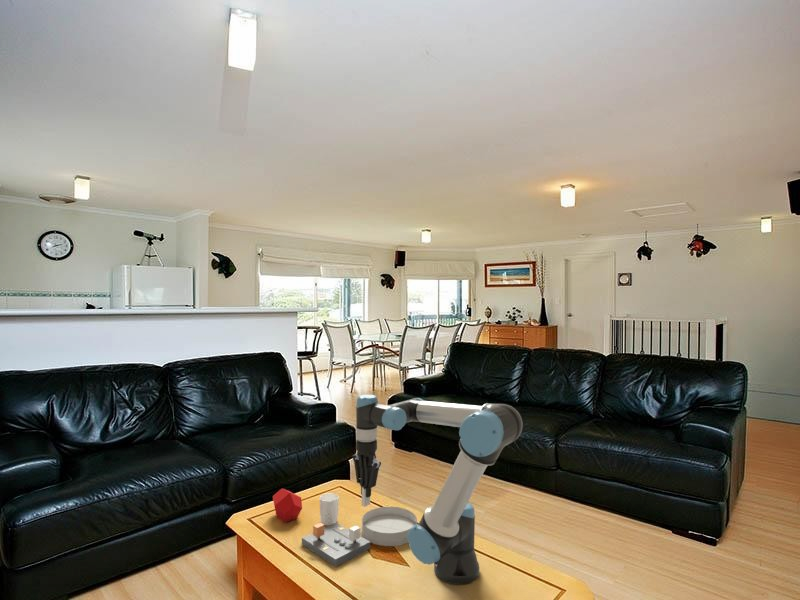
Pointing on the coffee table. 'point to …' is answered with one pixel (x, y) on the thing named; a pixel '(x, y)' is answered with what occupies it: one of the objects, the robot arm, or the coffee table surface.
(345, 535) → the console
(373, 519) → the dish
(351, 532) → the cream block
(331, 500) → the white cup
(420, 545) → the robot arm
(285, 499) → the red faceted polyhedron
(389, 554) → the coffee table surface
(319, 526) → the fader
